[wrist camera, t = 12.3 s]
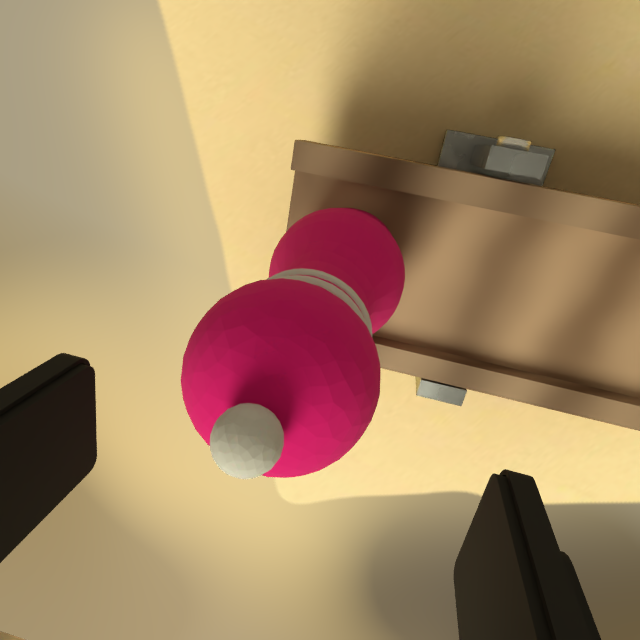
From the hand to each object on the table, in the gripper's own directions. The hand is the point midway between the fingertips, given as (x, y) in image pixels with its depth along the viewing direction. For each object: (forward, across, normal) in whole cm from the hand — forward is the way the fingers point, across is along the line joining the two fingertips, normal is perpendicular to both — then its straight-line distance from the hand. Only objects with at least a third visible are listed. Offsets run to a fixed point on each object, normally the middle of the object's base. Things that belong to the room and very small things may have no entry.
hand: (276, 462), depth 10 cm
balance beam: (+21, -8, 0) cm, 23 cm away
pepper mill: (+20, +1, 0) cm, 20 cm away
